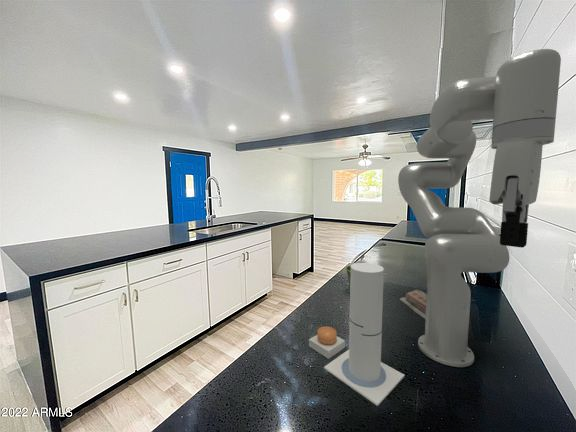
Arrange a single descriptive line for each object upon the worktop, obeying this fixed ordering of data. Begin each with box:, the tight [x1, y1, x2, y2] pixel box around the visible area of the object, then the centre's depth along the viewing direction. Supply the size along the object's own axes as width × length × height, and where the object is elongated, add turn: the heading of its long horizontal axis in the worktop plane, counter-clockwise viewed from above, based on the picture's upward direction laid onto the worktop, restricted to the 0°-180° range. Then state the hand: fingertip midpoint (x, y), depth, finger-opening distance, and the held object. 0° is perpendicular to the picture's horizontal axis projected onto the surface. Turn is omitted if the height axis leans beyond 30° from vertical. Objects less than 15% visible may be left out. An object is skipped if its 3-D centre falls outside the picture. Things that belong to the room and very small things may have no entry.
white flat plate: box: [323, 349, 405, 407], centre depth 58 cm, size 12×14×1 cm
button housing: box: [308, 334, 346, 360], centre depth 68 cm, size 7×7×2 cm
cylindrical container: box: [348, 262, 385, 382], centre depth 57 cm, size 7×7×25 cm
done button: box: [316, 325, 338, 344], centre depth 68 cm, size 5×5×2 cm
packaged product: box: [399, 289, 427, 321], centre depth 89 cm, size 18×5×10 cm
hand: (512, 245), depth 42 cm, fingers closed
